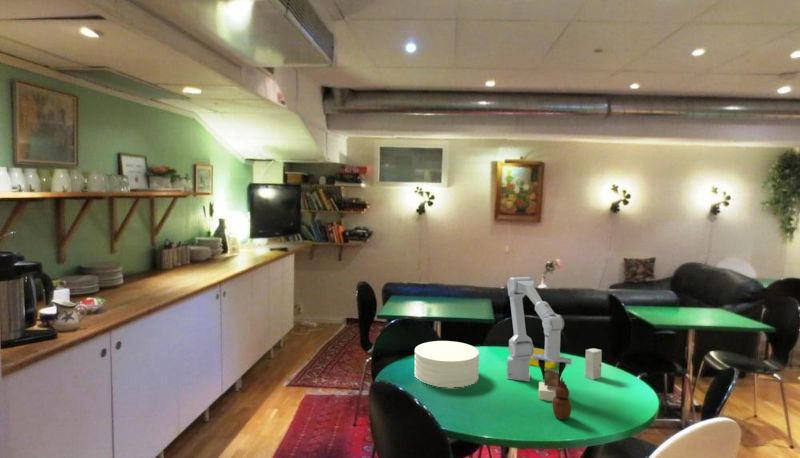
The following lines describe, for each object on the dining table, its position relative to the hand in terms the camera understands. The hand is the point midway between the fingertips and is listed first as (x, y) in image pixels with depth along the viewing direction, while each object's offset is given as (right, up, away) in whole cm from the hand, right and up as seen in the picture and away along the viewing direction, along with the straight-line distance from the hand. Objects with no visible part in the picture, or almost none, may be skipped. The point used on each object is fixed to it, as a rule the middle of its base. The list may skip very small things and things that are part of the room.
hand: (551, 379), depth 186 cm
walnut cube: (0, -2, 0) cm, 2 cm away
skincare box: (+25, -6, +21) cm, 33 cm away
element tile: (+8, -5, +40) cm, 41 cm away
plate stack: (-39, -5, +21) cm, 45 cm away
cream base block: (0, -7, 0) cm, 7 cm away
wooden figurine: (-2, -8, -18) cm, 20 cm away
